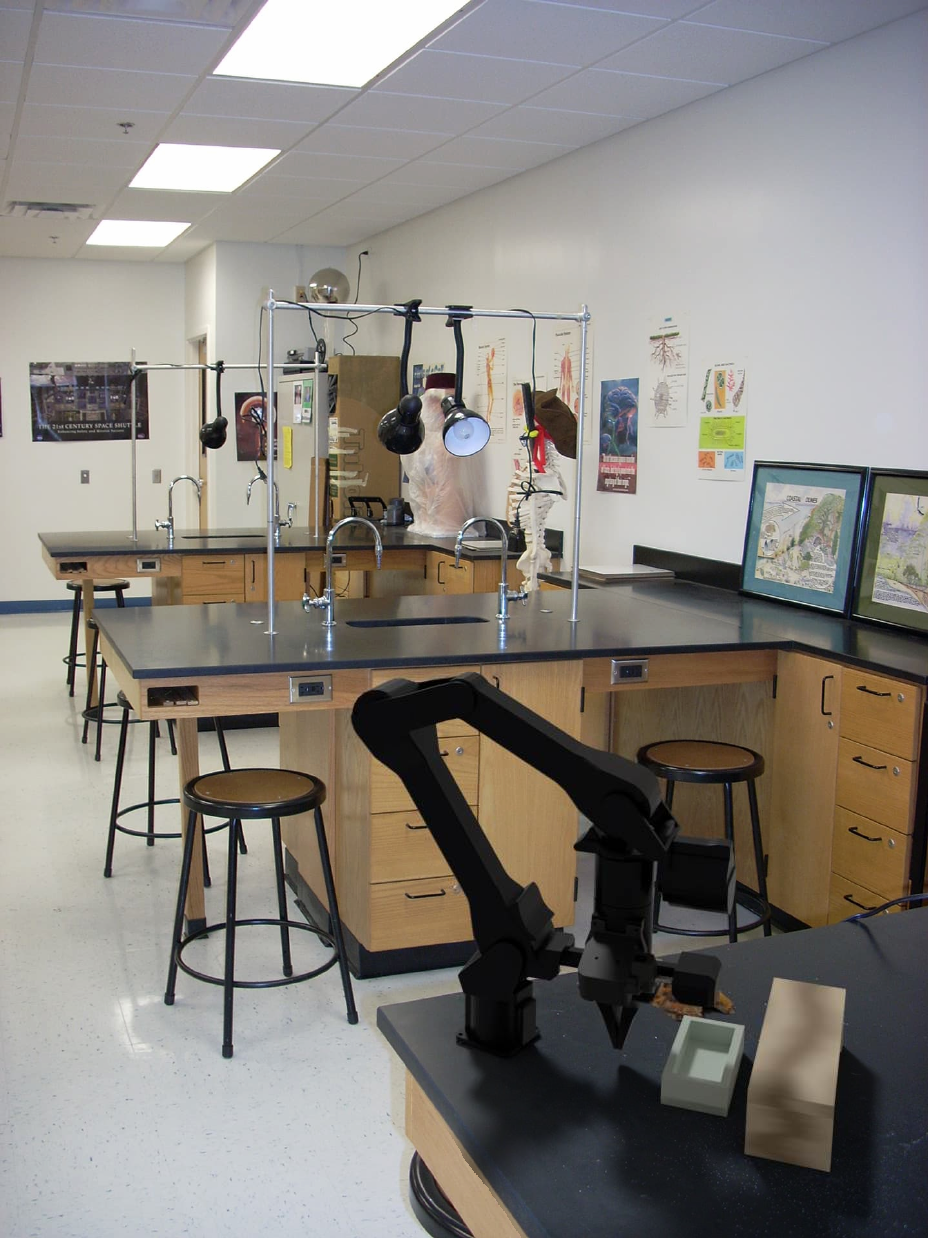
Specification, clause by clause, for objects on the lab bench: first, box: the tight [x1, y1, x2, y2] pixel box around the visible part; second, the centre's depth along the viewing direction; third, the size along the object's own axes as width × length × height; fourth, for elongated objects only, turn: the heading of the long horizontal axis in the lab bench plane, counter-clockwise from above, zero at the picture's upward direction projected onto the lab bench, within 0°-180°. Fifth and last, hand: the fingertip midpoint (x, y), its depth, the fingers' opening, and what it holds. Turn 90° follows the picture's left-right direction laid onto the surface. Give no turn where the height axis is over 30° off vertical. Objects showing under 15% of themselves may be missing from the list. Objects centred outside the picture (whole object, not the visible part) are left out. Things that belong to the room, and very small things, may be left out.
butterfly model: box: [651, 983, 737, 1021], centre depth 128 cm, size 9×12×3 cm
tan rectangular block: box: [744, 977, 847, 1173], centre depth 110 cm, size 7×22×6 cm, turn 160°
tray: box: [660, 1015, 746, 1118], centre depth 113 cm, size 6×12×3 cm, turn 160°
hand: (618, 1048), depth 116 cm, fingers closed
